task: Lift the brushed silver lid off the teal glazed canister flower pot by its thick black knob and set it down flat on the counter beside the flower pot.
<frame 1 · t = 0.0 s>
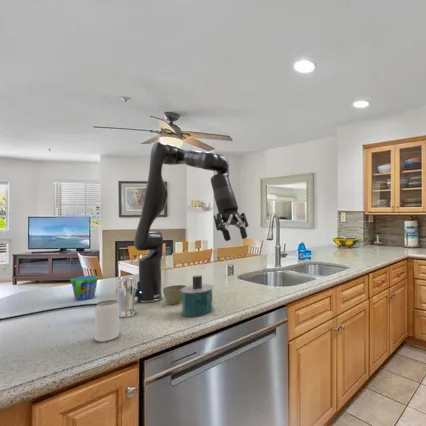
hand: (236, 239, 112), 31 cm above the counter, tool tilted 20°, fingers open, 8 cm apart
beer glass: (126, 315, 120), on the counter
can: (107, 338, 98), on the counter
canister: (197, 311, 123), on the counter
flower pot: (175, 303, 135), on the counter
blue green tapered container: (85, 298, 144), on the counter
lid: (197, 289, 123), point 9 cm above the counter, touching canister
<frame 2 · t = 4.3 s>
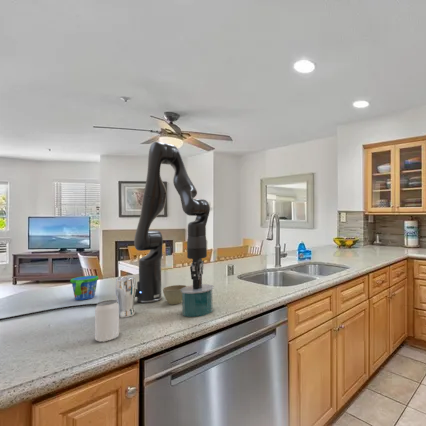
hand: (197, 287, 123), 10 cm above the counter, tool pointing down, fingers closed on lid, 3 cm apart
lid: (197, 289, 123), point 10 cm above the counter, touching canister, gripper
everything else where it was.
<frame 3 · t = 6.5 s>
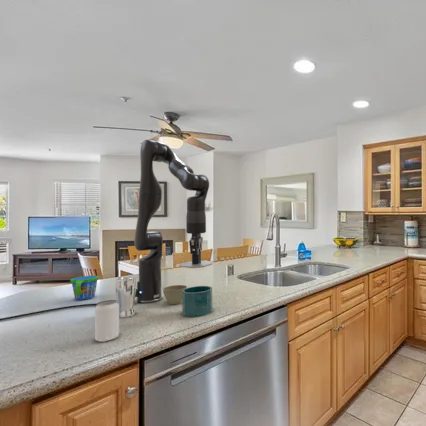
hand: (196, 262, 123), 21 cm above the counter, tool pointing down, fingers closed on lid, 3 cm apart
lid: (196, 264, 123), point 20 cm above the counter, touching gripper
everything else where it was.
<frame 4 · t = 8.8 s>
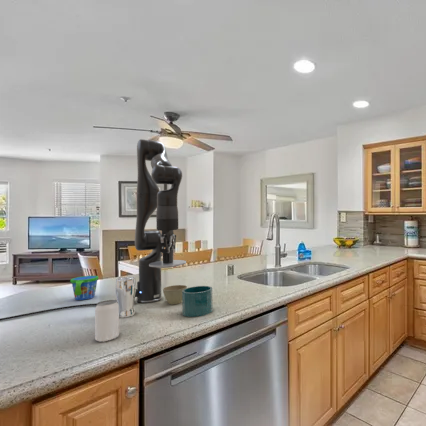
hand: (168, 261, 113), 23 cm above the counter, tool pointing down, fingers closed on lid, 3 cm apart
lid: (168, 264, 113), point 22 cm above the counter, touching gripper
everything else where it was.
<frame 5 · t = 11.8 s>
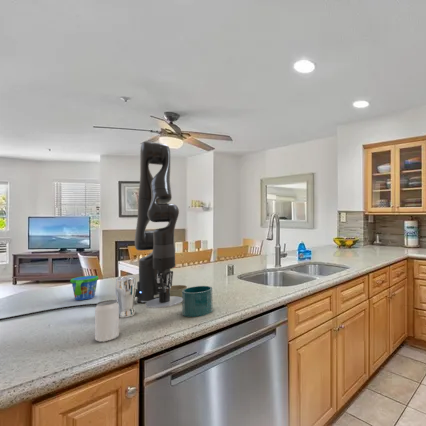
hand: (164, 300, 112), 8 cm above the counter, tool pointing down, fingers closed on lid, 3 cm apart
lid: (164, 302, 112), point 7 cm above the counter, touching gripper
everything else where it was.
when the fingers open (1 cm above the counter, at t = 13.8 s): lid stays where it is, point 1 cm above the counter.
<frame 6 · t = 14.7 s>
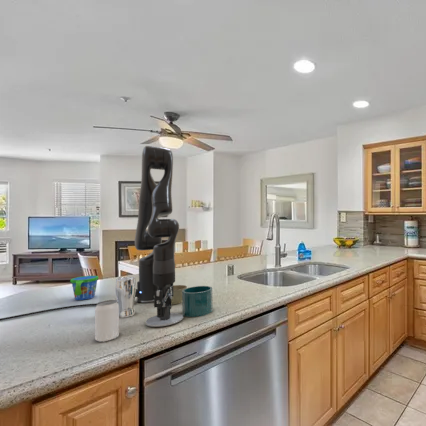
hand: (164, 313, 112), 3 cm above the counter, tool pointing down, fingers open, 8 cm apart
lid: (165, 320, 112), point 1 cm above the counter
everything else where it was.
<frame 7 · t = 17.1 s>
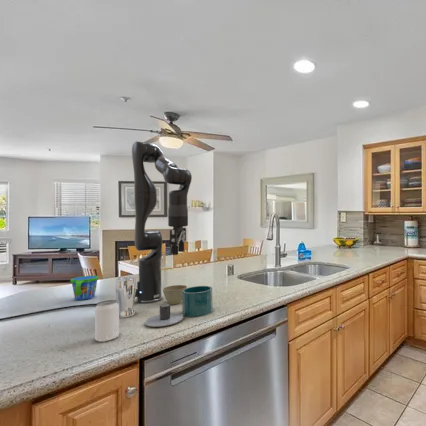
hand: (178, 253, 125), 25 cm above the counter, tool pointing down, fingers open, 8 cm apart
nothing on the counter moved.
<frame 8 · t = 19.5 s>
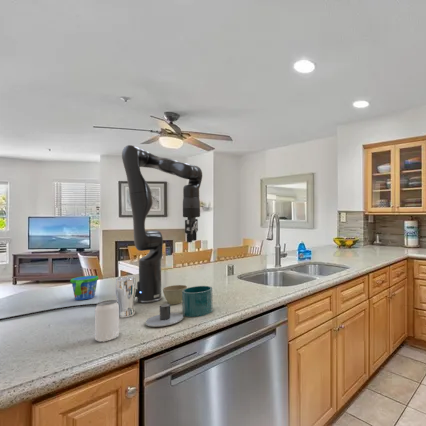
hand: (191, 241, 138), 28 cm above the counter, tool pointing down, fingers open, 8 cm apart
nothing on the counter moved.
at the end: lid inside the target area (3.1 cm from its centre), point 0.6 cm above the counter; lid 13.4 cm from the canister (horizontally); lid tilted 0° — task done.
